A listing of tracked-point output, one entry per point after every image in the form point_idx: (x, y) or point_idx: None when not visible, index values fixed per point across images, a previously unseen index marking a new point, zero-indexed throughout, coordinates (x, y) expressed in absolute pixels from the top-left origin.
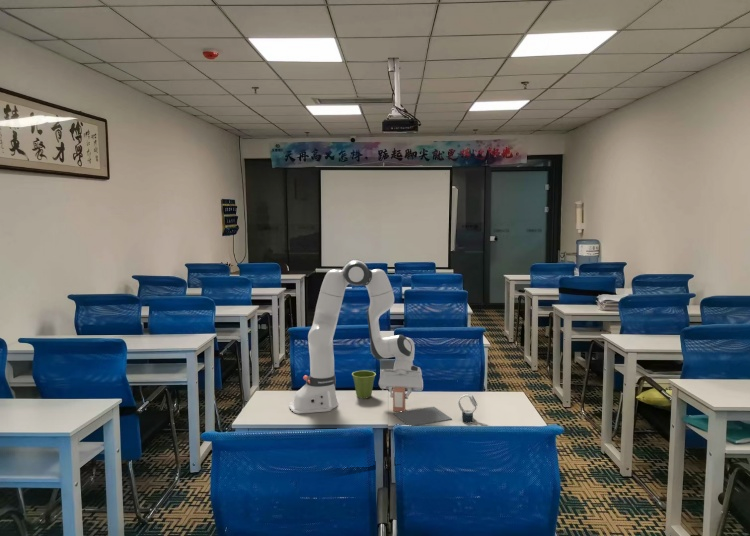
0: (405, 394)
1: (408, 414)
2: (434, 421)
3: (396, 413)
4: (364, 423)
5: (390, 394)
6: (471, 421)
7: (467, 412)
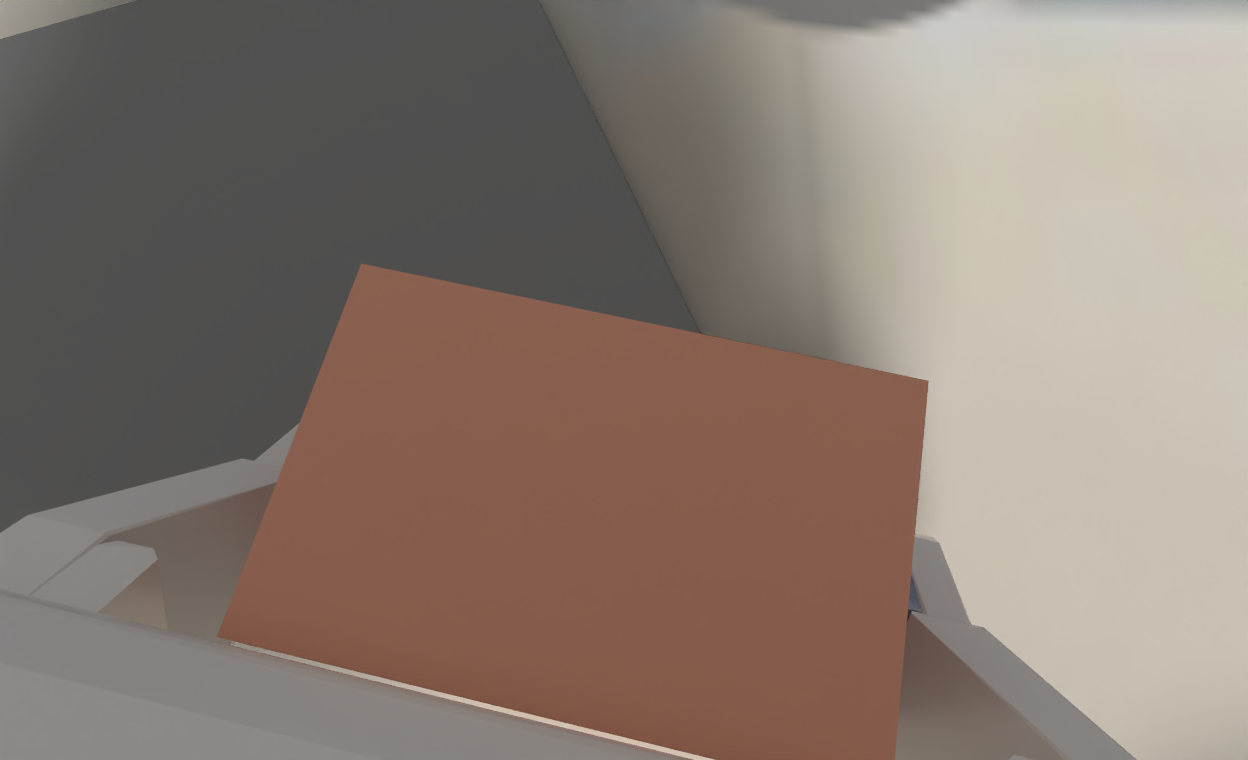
0: None
1: None
2: (73, 19)
3: None
4: (1160, 16)
5: (945, 563)
6: None
7: None
